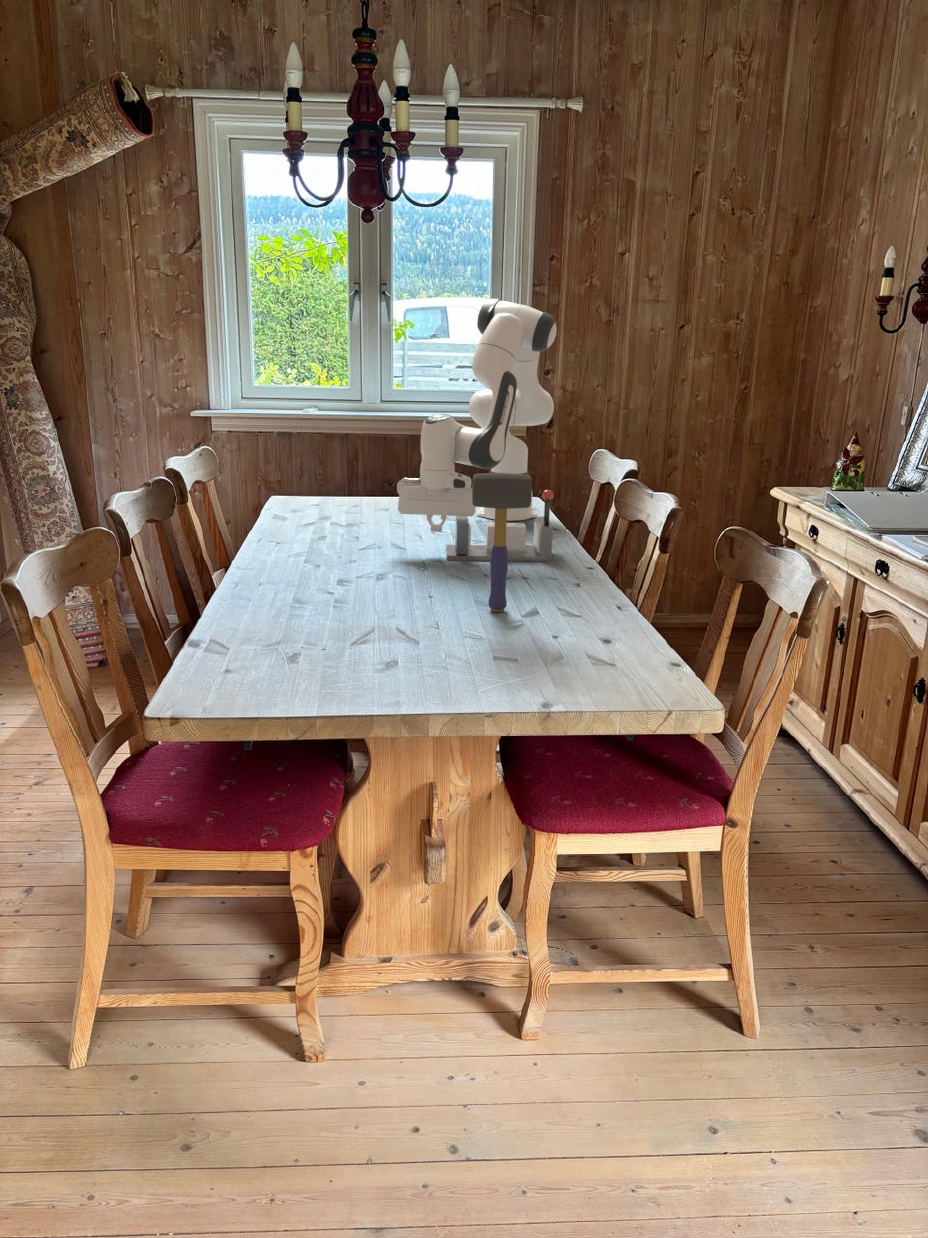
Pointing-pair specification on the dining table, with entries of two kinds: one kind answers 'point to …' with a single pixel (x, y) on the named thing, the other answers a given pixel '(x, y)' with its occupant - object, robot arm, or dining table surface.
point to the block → (508, 537)
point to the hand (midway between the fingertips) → (436, 531)
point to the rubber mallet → (500, 521)
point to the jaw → (462, 535)
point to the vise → (532, 553)
